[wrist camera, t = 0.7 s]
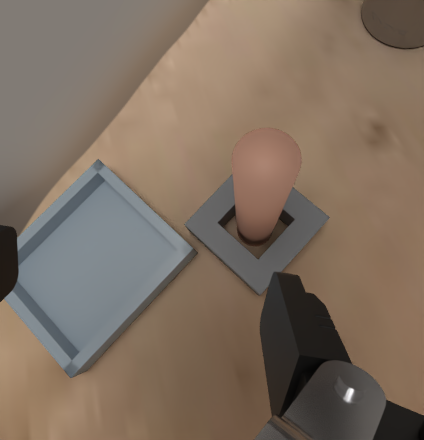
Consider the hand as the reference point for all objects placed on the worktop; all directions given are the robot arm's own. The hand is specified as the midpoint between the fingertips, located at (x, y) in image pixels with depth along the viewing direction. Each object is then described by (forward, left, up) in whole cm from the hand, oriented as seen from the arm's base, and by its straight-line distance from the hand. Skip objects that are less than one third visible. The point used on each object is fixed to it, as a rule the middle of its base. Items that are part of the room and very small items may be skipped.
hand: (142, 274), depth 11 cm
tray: (+6, -10, -22) cm, 25 cm away
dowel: (-7, -1, -22) cm, 23 cm away
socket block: (-7, -1, -22) cm, 23 cm away
